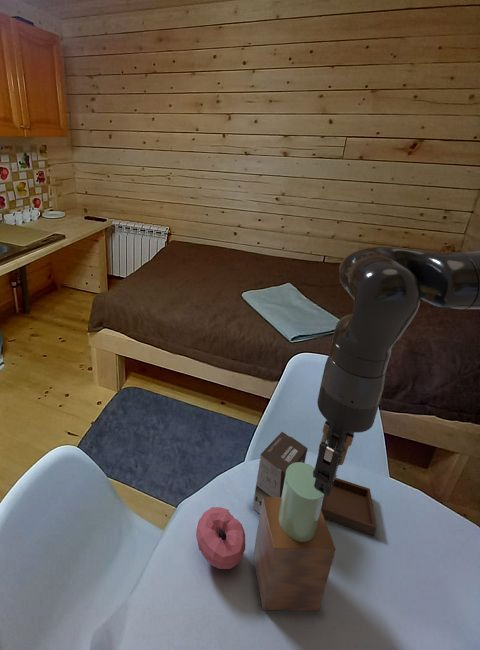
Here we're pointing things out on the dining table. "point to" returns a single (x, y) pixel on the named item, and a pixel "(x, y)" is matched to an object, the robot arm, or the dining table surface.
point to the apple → (220, 538)
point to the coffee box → (276, 467)
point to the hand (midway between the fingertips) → (330, 469)
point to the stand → (290, 563)
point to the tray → (350, 506)
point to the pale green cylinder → (300, 503)
